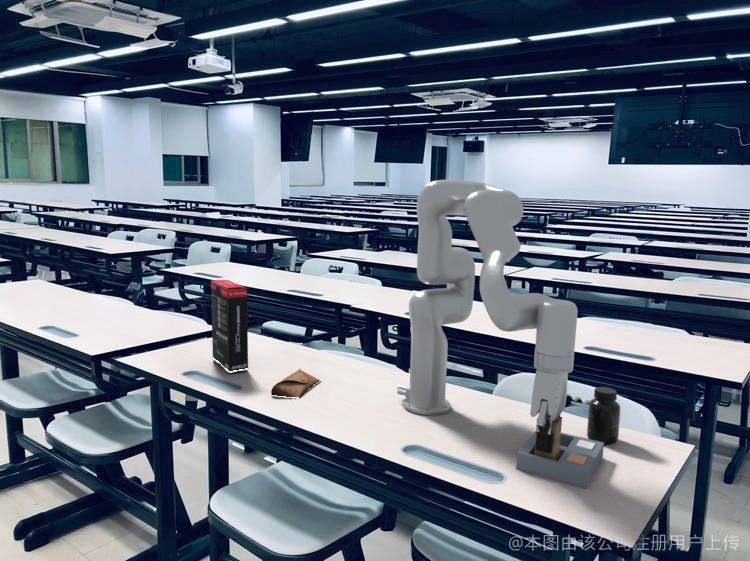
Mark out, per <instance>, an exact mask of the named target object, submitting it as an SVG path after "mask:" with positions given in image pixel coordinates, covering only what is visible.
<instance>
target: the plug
mask: <svg viewBox="0 0 750 561" xmlns="http://www.w3.org/2000/svg"><path fill="white" fill-rule="evenodd" d="M546 417H547V418H550V417H551V416H549V415H547V416H546ZM537 420H538V417H537V418H536V421H537ZM545 422H546V424H548V427H549V422H547V421H545ZM562 424H563V417H562V416H560V417H559V416H558V417H557V419H556V420H554V421H553V428H552V434H553V447H552V452H551V453H546V452H542V451H538V450H536V440H535V455H536V456H540V457H544V458H547V459H551V460H555V461H559V453H560V440H561V433H562ZM535 428H536V429H535V432H536V435H537V424H536V427H535Z"/></svg>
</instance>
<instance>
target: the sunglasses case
mask: <svg viewBox="0 0 750 561" xmlns="http://www.w3.org/2000/svg"><path fill="white" fill-rule="evenodd" d="M319 381H320V378H319V379H318V378H317V377H315V376H313V375H310V374H309V373H308V372H306V371H303V370H302V369H301V368H299V369H297V370H296V371H294V372H292V373H291V374H290V375H287V376H286V377H285V378H284V379H282V380H281V381H278V382H277V383H276V384H274V385H273V387H272V388H271V391H270V392H271V396H272V395H277V396H286V397H300V396H301V395H302V394H303V393H304V392H306V391H307V390H308V389H309V388H311V387H312V386H313V385H314V384H316V383H317V382H319ZM316 385H317V384H316ZM312 388H313V387H312ZM312 388H311V389H312ZM308 391H309V390H308ZM308 391H307V392H308ZM307 392H306V393H307ZM303 395H304V394H303ZM303 395H302V396H303ZM302 396H301V397H302Z"/></svg>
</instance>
